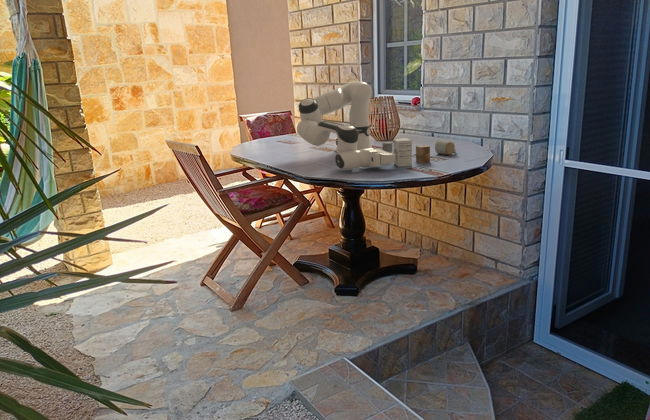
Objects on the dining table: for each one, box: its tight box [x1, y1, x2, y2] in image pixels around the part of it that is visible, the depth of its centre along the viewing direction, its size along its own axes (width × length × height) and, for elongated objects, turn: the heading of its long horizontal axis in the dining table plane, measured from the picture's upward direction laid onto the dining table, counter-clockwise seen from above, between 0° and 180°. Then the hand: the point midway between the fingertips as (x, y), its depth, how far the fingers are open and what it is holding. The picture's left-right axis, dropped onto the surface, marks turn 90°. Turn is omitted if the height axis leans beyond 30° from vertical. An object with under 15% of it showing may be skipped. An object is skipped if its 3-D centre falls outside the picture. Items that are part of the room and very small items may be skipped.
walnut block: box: [415, 144, 431, 164], centre depth 249 cm, size 5×5×8 cm
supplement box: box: [392, 137, 413, 168], centre depth 245 cm, size 7×7×13 cm
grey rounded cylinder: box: [382, 141, 393, 152], centre depth 259 cm, size 5×5×9 cm
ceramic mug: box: [434, 138, 457, 156], centre depth 265 cm, size 11×8×8 cm
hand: (395, 153), depth 244 cm, fingers closed
